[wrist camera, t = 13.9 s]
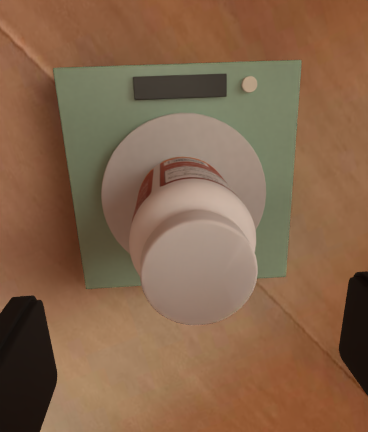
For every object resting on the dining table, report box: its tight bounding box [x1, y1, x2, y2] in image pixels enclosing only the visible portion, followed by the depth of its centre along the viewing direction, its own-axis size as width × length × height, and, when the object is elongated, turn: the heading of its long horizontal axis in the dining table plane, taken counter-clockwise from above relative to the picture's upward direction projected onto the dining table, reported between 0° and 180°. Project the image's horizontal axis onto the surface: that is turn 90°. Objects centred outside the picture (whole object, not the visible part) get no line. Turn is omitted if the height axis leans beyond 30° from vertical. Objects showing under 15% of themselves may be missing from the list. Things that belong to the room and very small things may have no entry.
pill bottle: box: [129, 156, 258, 325], centre depth 18 cm, size 6×6×11 cm
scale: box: [53, 60, 302, 289], centre depth 25 cm, size 16×16×3 cm
